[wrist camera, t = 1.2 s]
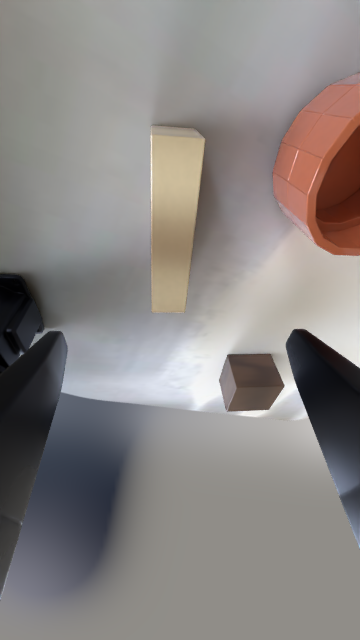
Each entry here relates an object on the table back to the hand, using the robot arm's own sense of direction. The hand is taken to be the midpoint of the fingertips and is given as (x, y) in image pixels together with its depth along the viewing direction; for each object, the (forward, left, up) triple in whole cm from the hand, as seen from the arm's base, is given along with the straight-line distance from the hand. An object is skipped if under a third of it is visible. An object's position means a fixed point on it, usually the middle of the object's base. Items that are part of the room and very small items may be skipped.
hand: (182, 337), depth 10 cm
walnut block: (+11, -18, -12) cm, 24 cm away
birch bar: (0, 0, -12) cm, 12 cm away
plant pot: (+11, +5, -12) cm, 16 cm away
